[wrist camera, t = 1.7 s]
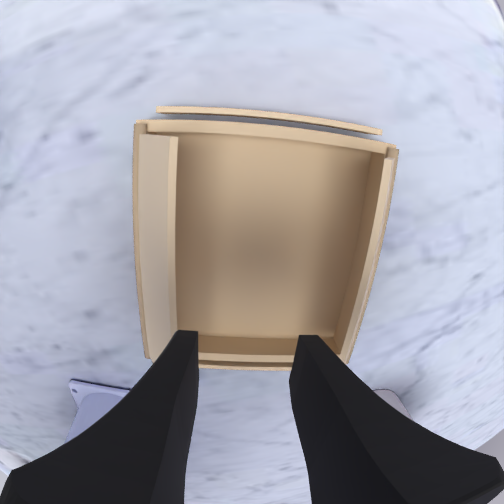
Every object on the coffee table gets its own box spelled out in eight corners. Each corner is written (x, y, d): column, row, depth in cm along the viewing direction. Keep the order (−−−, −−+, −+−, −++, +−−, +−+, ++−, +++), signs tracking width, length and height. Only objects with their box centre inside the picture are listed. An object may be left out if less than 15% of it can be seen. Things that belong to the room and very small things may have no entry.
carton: (336, 348, 22) (347, 373, 20) (153, 341, 21) (145, 368, 19) (381, 131, 17) (404, 134, 14) (148, 109, 15) (133, 106, 13)
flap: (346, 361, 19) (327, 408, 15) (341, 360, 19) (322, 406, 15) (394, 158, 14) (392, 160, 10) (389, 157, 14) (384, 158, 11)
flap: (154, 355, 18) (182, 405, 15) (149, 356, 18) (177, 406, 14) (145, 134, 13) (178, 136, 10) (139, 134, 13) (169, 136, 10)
